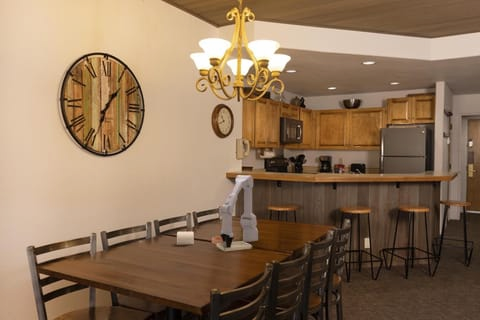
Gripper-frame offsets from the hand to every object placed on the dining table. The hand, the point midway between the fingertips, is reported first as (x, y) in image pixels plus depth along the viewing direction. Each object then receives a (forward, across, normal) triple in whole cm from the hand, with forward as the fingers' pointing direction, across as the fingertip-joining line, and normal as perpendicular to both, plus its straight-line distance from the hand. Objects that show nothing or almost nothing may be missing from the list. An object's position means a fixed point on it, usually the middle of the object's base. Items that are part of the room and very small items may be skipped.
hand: (227, 246), depth 231 cm
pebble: (+1, 0, 0) cm, 1 cm away
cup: (-2, -21, -14) cm, 26 cm away
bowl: (+2, -14, +2) cm, 15 cm away
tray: (+2, 0, +4) cm, 5 cm away
